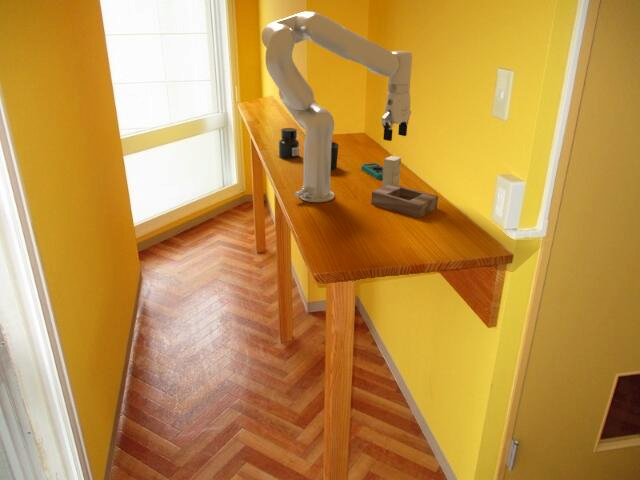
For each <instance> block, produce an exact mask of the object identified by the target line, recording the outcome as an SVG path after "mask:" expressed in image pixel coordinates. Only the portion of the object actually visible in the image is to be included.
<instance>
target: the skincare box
mask: <svg viewBox="0 0 640 480" xmlns="http://www.w3.org/2000/svg"><path fill="white" fill-rule="evenodd" d="M401 164H402V157H401V156H395V155H390V156H387V157H385V158H384V159H383V167H384V168H383V179H382V185H381V188H382V187H384V186H387V185H389V184H394V185H398V186H400V180H401V179H400V178H401Z"/></svg>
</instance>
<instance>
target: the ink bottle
mask: <svg viewBox="0 0 640 480" xmlns="http://www.w3.org/2000/svg"><path fill="white" fill-rule="evenodd" d="M280 131H281V132H280V133H281V134H280V135H281V139H280V140H279V141H278V155H279V157H280V158H283V159H296V158H299V155H300V142H299V140H298V139H297V138H298V130H297V128H294V127H283V128H281V130H280Z"/></svg>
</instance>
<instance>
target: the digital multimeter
mask: <svg viewBox="0 0 640 480" xmlns="http://www.w3.org/2000/svg"><path fill="white" fill-rule="evenodd" d="M383 168H384V166H382V165H380V164H378V163H376V162H372V163H371V162H370V163H364V164H362V165H361V168H360V170H361V171H362V172H364V171H365V173H366V172H367V173H366V174H367V175H370V176H372V177H373V178H375V180H379V181H380V180H383Z"/></svg>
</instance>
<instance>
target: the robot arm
mask: <svg viewBox="0 0 640 480" xmlns="http://www.w3.org/2000/svg"><path fill="white" fill-rule="evenodd" d="M306 40H307V41H309V42H312V43H313V44H315V45H317V46H319V47H321V48H323V49H325V50H327V51H329V52H331V53H332V54H334V55H336V56H337V57H341V58H342V59H346V60H348V61H352V62H354V63H357V64H360V65H362V66H364V67H365V68H367V70H368V71H369V72H371V73H373V74H376V75H379V76H383V77H388V81H387V96H386V100H385V110H384V115H383V116H382V117H381V121H382V123H381V124H382V128H383V140H384V141H388V142H391V141H392V140H393V129H392V128H393V126H394V124H397V125H398V130H397V131H398V133H397V134H398V135H399V136H403V137H406V136H407V135H408V134H407V133H408V125H409V121H410V117H411V114H412V110H411V93H410V91H411V90H410V89H411V78H412V77H411V76H412V67H413V54H412V52H411V51H408V50H393V51H390V50H388V49H386V48H385V47H382V46H381V45H379V44H377V43H375V42H374V41H371V40H369V39H367V38H365V37H364V36H362V35H360V34H358V33H356V32H355V31H352V30H350V29H348V28H347V27H345V26H343V25H341V24H340V23H337V22H336V21H334V20H332V19H330V18H329V17H327V16H325V15H323V14H322V13H318V12H316V11H302V12H299V13H297V14H294V15H291V16H288V17H286V18H283V19H279V20H276V21H273V22H270V23H269V24H267V25H265V27H264V28H263V30H262V32H261V41H262V44H263V46H264V47H265V48H266V51H265V67H266V70H267V72H268V74H269V76H270V78H271V80H272V82H274V83H275V85H276V87H277V89H278V96H279V98H280V100H281V102H282V103H283V105H284V106H285V107H286V109H287V110H288V112H289V113H290V115H291V116H292V118H293V119H294V120H295V121H296V123H297V124H298V125H299V126H300V127H301V128H302V129H303V130H305V136H304V140H303V178H302V179H303V184H302V185H301V189H300V190H298V191H295V192H294V197H296V198H300V200H303V201H305V202H308V203H326V202H330V201H331V200H333V199H334V198H335V193H334V192H333V191H332V190H331V177H332V176H331V175H332V174H331V171H332V170H331V146H332V142H333V134H334V131H335V120H334V116H333V115H332V113H331V112H330V111H329V110H328V109H326V108H325V107H323V106H322V105H319V104H318V102H317V101H316V100H315V95H314V91H313V88H312V87H311V85H310V84H309V83H308V82H307V81H306V79H305V78H304V76H303V74H302V73H301V71H300V70H299V69H298V67H297V65H296V63H295V62H294V60H293V51H294V48H295V45H296V44H298V43H301V42H303V41H306Z"/></svg>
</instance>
